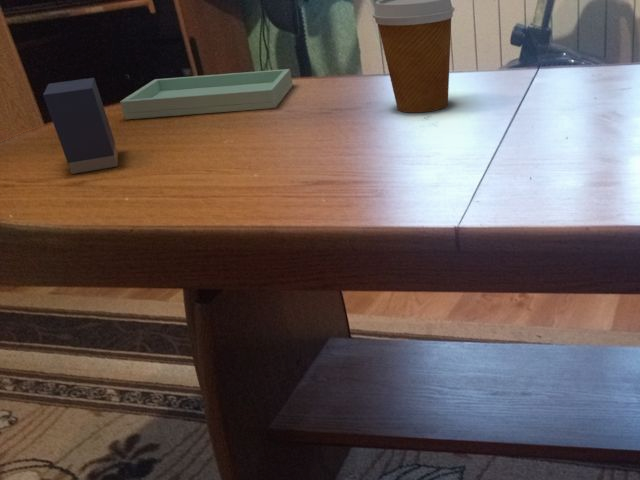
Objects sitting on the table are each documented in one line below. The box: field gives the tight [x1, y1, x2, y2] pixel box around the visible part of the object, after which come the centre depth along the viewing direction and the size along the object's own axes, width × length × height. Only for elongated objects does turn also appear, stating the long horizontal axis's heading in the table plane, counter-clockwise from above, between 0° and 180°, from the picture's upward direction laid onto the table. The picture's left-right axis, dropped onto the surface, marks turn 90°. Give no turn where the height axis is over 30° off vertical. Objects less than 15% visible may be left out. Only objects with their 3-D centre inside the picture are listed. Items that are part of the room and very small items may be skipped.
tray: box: [119, 68, 294, 120], centre depth 100 cm, size 20×14×2 cm
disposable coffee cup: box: [372, 0, 456, 113], centre depth 87 cm, size 10×10×12 cm
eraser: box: [42, 77, 119, 175], centre depth 77 cm, size 6×4×8 cm
